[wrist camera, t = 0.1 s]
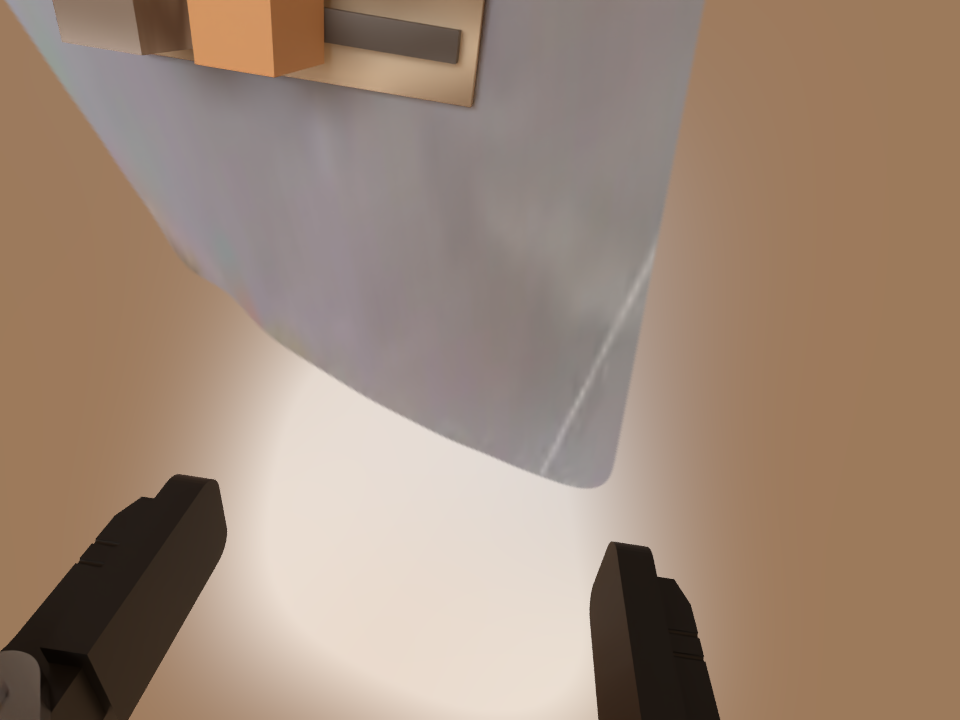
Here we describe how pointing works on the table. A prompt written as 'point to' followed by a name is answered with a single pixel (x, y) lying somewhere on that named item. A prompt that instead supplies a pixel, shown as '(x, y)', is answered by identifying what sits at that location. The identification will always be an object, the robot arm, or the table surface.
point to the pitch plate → (347, 41)
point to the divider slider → (258, 35)
